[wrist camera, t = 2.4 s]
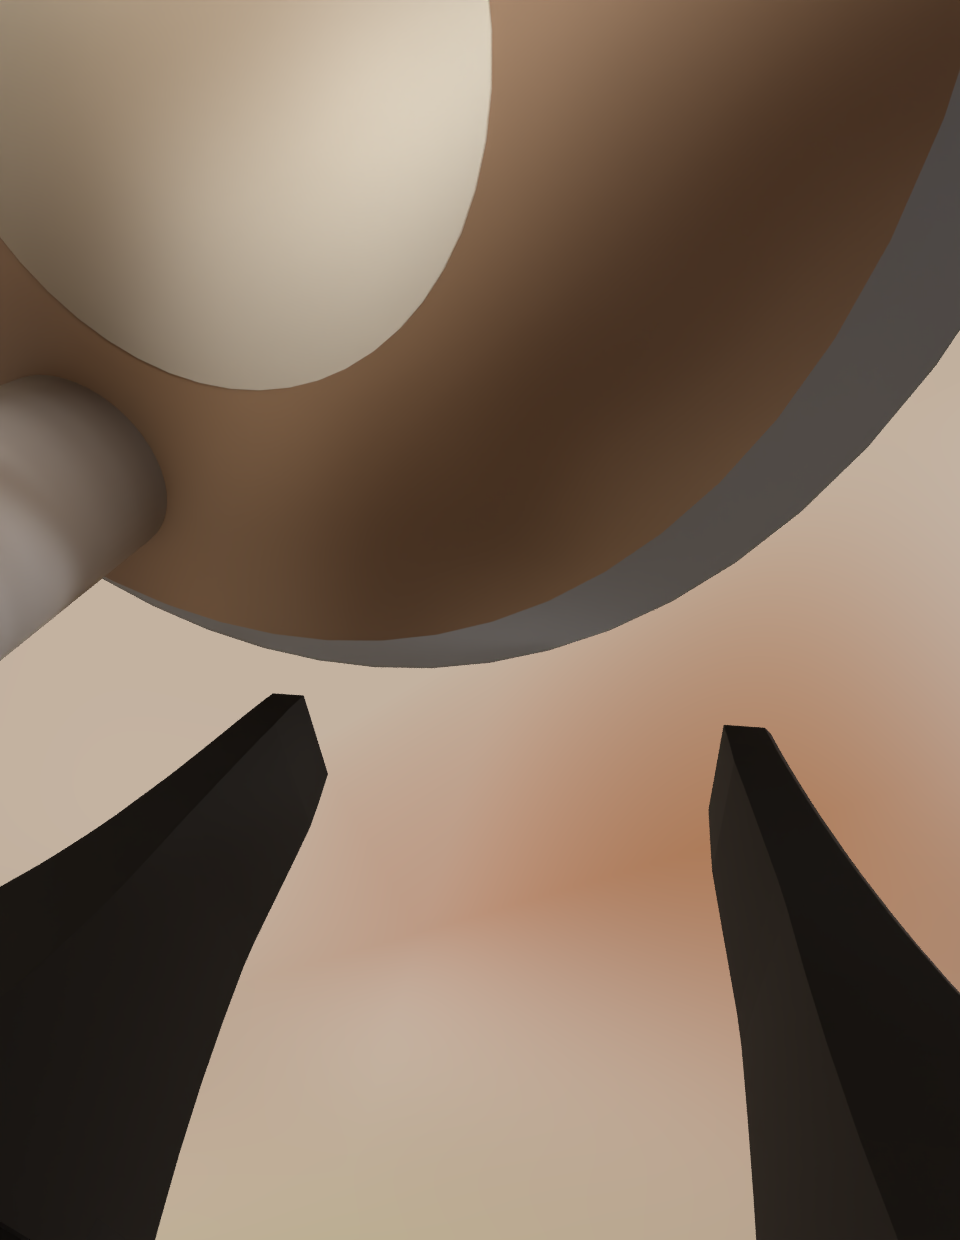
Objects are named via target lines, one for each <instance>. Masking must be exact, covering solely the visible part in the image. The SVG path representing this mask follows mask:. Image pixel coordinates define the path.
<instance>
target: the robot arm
mask: <svg viewBox="0 0 960 1240" xmlns="http://www.w3.org/2000/svg"><path fill="white" fill-rule="evenodd" d="M327 775H328V773H327V770H326V766H325V763H324V760H323V757H322V753H321V750H320V747H319V744H318V741H317V737H316V734H315V731H314V728H313V725H312V721H311V718H310V715H309V711H308V708H307V705H306V702H305V699H304V696H301V695H286V694H272V695H270V696H269V697H268V698H266V699H265V700H264V701H262V702H261V703H260V704H258V705H257V706H256V707H255V708H253V709H252V710H251V711H250V712H248V713H247V714H246V715H244V716H243V717H242V718H241V719H240V720H238V721H237V722H236V723H235V724H233V725H232V726H231V727H230V728H228V729H227V730H226V731H225V732H224V733H222V734H221V735H220V736H219V737H217V738H216V739H215V740H214V741H212V742H211V743H210V744H209V745H207V746H206V747H205V748H204V749H203V750H201V751H200V752H199V753H198V754H196V755H195V756H194V757H193V758H191V759H190V760H189V761H187V762H186V763H185V764H184V765H182V766H181V767H180V768H179V769H177V770H176V771H175V772H173V773H172V774H171V775H170V776H168V777H167V778H166V779H164V780H163V781H161V782H160V783H159V784H157V785H156V786H155V787H154V788H152V789H151V790H149V791H148V792H147V793H145V794H144V795H142V796H141V797H140V798H139V799H137V800H136V801H134V802H133V803H132V804H130V805H129V806H128V807H126V808H125V809H124V810H122V811H121V812H119V813H118V814H117V815H115V816H114V817H113V818H111V819H109V820H108V821H107V822H105V823H104V824H102V825H101V826H99V827H98V828H96V829H95V830H93V831H92V832H90V833H89V834H87V835H86V836H84V837H83V838H81V839H79V840H78V841H76V842H75V843H73V844H72V845H70V846H68V847H67V848H65V849H64V850H62V851H61V852H59V853H57V854H56V855H54V856H53V857H51V858H49V859H48V860H46V861H44V862H43V863H41V864H40V865H38V866H36V867H34V868H33V869H31V870H30V871H27V872H26V873H24V874H22V875H20V876H19V877H17V878H15V879H13V880H11V881H10V882H8V883H6V884H4V885H3V886H1V887H0V1240H155V1238H156V1234H157V1230H158V1227H159V1223H160V1219H161V1216H162V1213H163V1209H164V1205H165V1202H166V1198H167V1195H168V1191H169V1188H170V1184H171V1180H172V1177H173V1174H174V1170H175V1167H176V1163H177V1160H178V1156H179V1153H180V1150H181V1146H182V1143H183V1140H184V1137H185V1134H186V1131H187V1127H188V1124H189V1121H190V1118H191V1115H192V1112H193V1108H194V1105H195V1102H196V1099H197V1096H198V1092H199V1089H200V1086H201V1083H202V1080H203V1077H204V1074H205V1072H206V1068H207V1066H208V1063H209V1060H210V1057H211V1054H212V1051H213V1049H214V1046H215V1043H216V1040H217V1037H218V1034H219V1031H220V1028H221V1026H222V1023H223V1020H224V1017H225V1015H226V1012H227V1009H228V1006H229V1004H230V1001H231V999H232V996H233V993H234V991H235V988H236V985H237V983H238V980H239V977H240V975H241V972H242V969H243V966H244V964H245V962H246V960H247V958H248V955H249V953H250V951H251V948H252V946H253V944H254V942H255V940H256V937H257V935H258V933H259V931H260V929H261V927H262V925H263V923H264V921H265V919H266V917H267V915H268V913H269V911H270V909H271V907H272V905H273V903H274V901H275V899H276V896H277V895H278V892H279V890H280V888H281V886H282V884H283V882H284V880H285V878H286V876H287V874H288V872H289V870H290V868H291V866H292V864H293V862H294V860H295V858H296V855H297V853H298V851H299V849H300V847H301V845H302V842H303V841H304V838H305V836H306V834H307V832H308V830H309V828H310V826H311V823H312V820H313V817H314V814H315V811H316V809H317V806H318V803H319V800H320V797H321V794H322V790H323V787H324V784H325V781H326V778H327ZM709 827H710V844H711V859H712V872H713V878H714V884H715V890H716V896H717V901H718V908H719V913H720V919H721V925H722V931H723V936H724V942H725V948H726V953H727V959H728V965H729V970H730V976H731V982H732V987H733V993H734V998H735V1004H736V1009H737V1015H738V1024H739V1031H740V1038H741V1046H742V1057H743V1068H744V1080H745V1092H746V1104H747V1115H748V1129H749V1141H750V1155H751V1169H752V1182H753V1194H754V1195H753V1196H754V1211H755V1226H756V1240H960V993H959V992H958V991H957V989H956V988H955V987H954V986H953V985H952V984H951V983H950V982H949V981H948V980H947V978H946V977H945V976H944V975H943V974H942V973H941V971H940V970H939V969H938V968H937V967H936V966H935V965H934V963H933V962H932V961H931V960H930V959H929V958H928V957H927V955H926V954H925V953H924V952H923V951H922V950H921V949H920V947H919V946H918V945H917V944H916V943H915V941H914V940H913V939H912V938H911V937H910V935H909V934H908V933H907V932H906V931H905V929H904V928H903V927H902V926H901V924H900V923H899V922H898V921H897V920H896V918H895V917H894V916H893V915H892V913H891V912H890V911H889V910H888V908H887V907H886V906H885V904H884V903H883V902H882V900H881V899H880V898H879V897H878V895H877V894H876V893H875V891H874V890H873V889H872V887H871V886H870V885H869V884H868V882H867V881H866V880H865V878H864V877H863V876H862V875H861V873H860V872H859V870H858V869H857V868H856V866H855V865H854V863H853V862H852V861H851V859H850V858H849V857H848V855H847V854H846V852H845V851H844V849H843V848H842V846H841V845H840V844H839V842H838V841H837V839H836V838H835V836H834V835H833V834H832V832H831V831H830V829H829V828H828V826H827V825H826V824H825V822H824V821H823V819H822V818H821V816H820V815H819V813H818V812H817V810H816V808H815V807H814V805H813V804H812V803H811V801H810V799H809V798H808V796H807V794H806V793H805V791H804V790H803V788H802V787H801V785H800V784H799V782H798V780H797V779H796V777H795V775H794V774H793V772H792V770H791V769H790V767H789V765H788V764H787V762H786V760H785V759H784V757H783V755H782V753H781V751H780V750H779V748H778V746H777V744H776V743H775V741H774V739H773V737H772V735H771V734H770V733H769V732H768V731H767V730H766V729H765V728H759V727H744V726H731V725H724V727H723V732H722V738H721V744H720V749H719V754H718V760H717V766H716V771H715V777H714V782H713V788H712V794H711V799H710V805H709Z"/></svg>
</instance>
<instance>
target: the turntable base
mask: <svg viewBox="0 0 960 1240" xmlns="http://www.w3.org/2000/svg"><path fill="white" fill-rule="evenodd" d="M959 330H960V71H959V74H958V77H957V80H956V83H955V86H954V89H953V92H952V95H951V98H950V101H949V105H948V108H947V111H946V114H945V117H944V120H943V122H942V124H941V126H940V129H939V131H938V133H937V136H936V138H935V140H934V142H933V145H932V147H931V149H930V152H929V154H928V156H927V158H926V161H925V163H924V165H923V168H922V170H921V172H920V174H919V177H918V179H917V181H916V184H915V186H914V188H913V190H912V193H911V195H910V197H909V200H908V202H907V204H906V206H905V209H904V211H903V213H902V216H901V218H900V220H899V222H898V225H897V227H896V229H895V232H894V234H893V236H892V238H891V241H890V242H889V244H888V246H887V248H886V249H885V251H884V253H883V255H882V256H881V258H880V260H879V262H878V263H877V265H876V267H875V269H874V271H873V272H872V274H871V276H870V278H869V279H868V281H867V283H866V285H865V286H864V288H863V290H862V292H861V293H860V295H859V297H858V299H857V301H856V302H855V304H854V306H853V308H852V309H851V311H850V313H849V315H848V316H847V318H846V320H845V322H844V323H843V325H842V327H841V329H840V331H839V332H838V334H837V336H836V338H835V339H834V341H833V342H832V343H831V345H830V346H829V348H828V349H827V350H826V352H825V353H824V355H823V356H822V357H821V359H820V360H819V362H818V363H817V364H816V366H815V367H814V368H813V370H812V371H811V373H810V374H809V375H808V377H807V378H806V380H805V381H804V382H803V384H802V385H801V387H800V388H799V389H798V391H797V392H796V394H795V395H794V396H793V398H792V399H791V400H790V402H789V403H788V405H787V406H786V407H785V409H784V410H783V412H782V413H781V414H780V416H779V417H778V419H777V420H776V421H775V422H774V423H773V424H772V425H771V426H770V427H769V429H768V430H767V431H766V432H765V433H764V434H763V435H762V436H761V437H760V439H759V440H758V441H757V442H756V443H755V444H754V445H753V446H752V447H751V448H750V450H749V451H748V452H747V453H746V454H745V455H744V456H743V457H742V458H741V460H740V461H739V462H738V463H737V464H736V465H735V466H734V467H733V468H732V469H731V471H730V472H729V473H728V474H727V475H726V476H725V477H724V478H723V479H722V480H721V482H720V483H719V484H718V485H716V486H715V487H714V488H713V489H712V490H711V491H709V492H708V493H707V494H706V495H705V496H704V497H703V498H701V499H700V500H699V501H698V502H697V503H696V504H695V505H693V506H692V507H691V508H690V509H689V510H688V511H687V512H685V513H684V514H683V515H682V516H681V517H680V518H679V519H677V520H676V521H675V522H674V523H673V524H672V525H671V526H669V527H668V528H667V529H666V530H665V531H664V532H663V533H661V534H660V535H658V536H657V537H656V538H654V539H653V540H651V541H650V542H648V543H647V544H645V545H644V546H642V547H641V548H639V549H638V550H636V551H635V552H633V553H632V554H631V555H629V556H628V557H626V558H625V559H623V560H622V561H620V562H619V563H617V564H616V565H614V566H613V567H611V568H610V569H609V570H607V571H606V572H604V573H602V574H600V575H598V576H596V577H594V578H592V579H590V580H588V581H587V582H585V583H583V584H581V585H579V586H577V587H575V588H573V589H571V590H569V591H567V592H565V593H563V594H561V595H559V596H557V597H555V598H553V599H551V600H550V601H548V602H545V603H542V604H539V605H537V606H534V607H531V608H528V609H526V610H523V611H520V612H518V613H515V614H512V615H509V616H507V617H504V618H501V619H498V620H496V621H493V622H489V623H485V624H481V625H476V626H472V627H468V628H463V629H459V630H455V631H451V632H446V633H442V634H438V635H430V636H420V637H411V638H402V639H393V640H384V641H351V640H321V639H312V638H304V637H295V636H286V635H278V634H272V633H267V632H263V631H258V630H254V629H249V628H245V627H240V626H236V625H231V624H227V623H222V622H219V621H216V620H213V619H210V618H207V617H204V616H201V615H198V614H194V613H191V612H188V611H185V610H182V609H179V608H176V607H173V606H170V605H167V604H165V603H162V602H160V601H158V600H155V599H153V598H151V597H149V596H146V595H144V594H142V593H139V592H137V591H135V590H132V589H130V588H128V587H126V586H123V585H121V584H119V583H116V582H114V581H112V580H110V579H108V578H106V577H103V578H102V579H104V580H106V581H108V582H110V583H112V584H113V585H115V586H117V587H119V588H121V589H123V590H125V591H127V592H128V593H130V594H132V595H134V596H136V597H138V598H139V599H141V600H143V601H145V602H147V603H149V604H151V605H153V606H155V607H157V608H160V609H162V610H164V611H166V612H169V613H171V614H173V615H176V616H178V617H180V618H183V619H185V620H187V621H189V622H192V623H194V624H196V625H199V626H201V627H204V628H206V629H208V630H211V631H214V632H217V633H220V634H223V635H227V636H229V637H232V638H235V639H239V640H241V641H245V642H248V643H251V644H254V645H257V646H260V647H263V648H267V649H272V650H276V651H281V652H285V653H289V654H294V655H299V656H303V657H307V658H312V659H316V660H321V661H330V662H338V663H347V664H354V665H362V666H371V667H402V668H403V667H407V668H437V667H448V666H458V665H469V664H480V663H490V662H495V661H500V660H505V659H509V658H514V657H519V656H524V655H529V654H534V653H538V652H543V651H548V650H551V649H554V648H557V647H560V646H563V645H567V644H570V643H572V642H575V641H578V640H581V639H585V638H588V637H591V636H594V635H597V634H600V633H603V632H606V631H609V630H611V629H613V628H616V627H618V626H620V625H622V624H624V623H626V622H628V621H630V620H633V619H635V618H637V617H639V616H641V615H643V614H646V613H648V612H650V611H652V610H654V609H656V608H659V607H661V606H663V605H665V604H667V603H669V602H671V601H673V600H675V599H677V598H678V597H680V596H681V595H683V594H685V593H686V592H688V591H689V590H691V589H693V588H695V587H696V586H698V585H700V584H701V583H703V582H704V581H706V580H708V579H709V578H711V577H713V576H714V575H716V574H718V573H719V572H721V571H722V570H724V569H726V568H727V567H729V566H731V565H732V564H734V563H735V562H737V561H738V560H739V559H741V558H742V557H743V556H744V555H746V554H747V553H748V552H750V551H751V550H752V549H754V548H755V547H756V546H757V545H759V544H760V543H761V542H762V541H764V540H765V539H766V538H767V537H769V536H770V535H771V534H773V533H774V532H775V531H777V530H778V529H779V528H781V527H782V526H783V525H784V524H786V523H787V522H788V521H790V520H791V519H792V518H793V517H795V516H796V515H797V514H799V513H800V512H801V511H802V510H803V509H804V508H805V507H806V506H807V505H808V504H809V503H810V502H811V501H812V500H813V499H814V498H816V497H817V496H818V495H819V493H821V492H822V491H823V490H824V489H825V488H826V487H827V486H828V485H829V484H830V483H831V482H832V481H833V480H834V479H835V478H836V477H837V476H838V475H839V474H840V473H841V472H842V471H843V470H844V469H845V468H847V467H848V466H849V465H850V464H851V462H853V461H854V460H855V459H856V458H857V457H858V456H859V455H860V454H861V453H862V452H863V451H864V450H865V449H866V448H867V447H868V446H869V445H870V443H871V442H872V441H873V440H874V439H875V437H876V436H877V435H878V434H879V433H880V432H881V430H882V429H883V428H884V427H885V426H886V424H887V423H888V422H889V421H890V420H891V418H892V417H893V416H894V415H895V414H896V412H897V411H898V410H899V409H900V408H901V406H902V405H903V404H904V403H905V402H906V401H907V399H908V398H909V397H910V396H911V394H912V393H913V392H914V391H915V390H916V389H917V387H918V386H919V385H920V384H921V383H922V381H923V380H924V379H925V378H926V376H927V375H928V374H929V373H930V372H931V371H932V369H933V368H934V367H935V366H936V364H937V363H938V361H939V360H940V358H941V357H942V355H943V354H944V352H945V351H946V349H947V348H948V346H949V345H950V344H951V342H952V340H953V339H954V338H955V336H956V335H957V333H958V332H959Z"/></svg>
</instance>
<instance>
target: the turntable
mask: <svg viewBox="0 0 960 1240" xmlns="http://www.w3.org/2000/svg"><path fill="white" fill-rule="evenodd" d="M959 71H960V0H0V660H1V659H3V658H4V657H5V656H6V655H7V654H9V653H10V652H11V651H13V650H14V649H15V648H16V647H18V646H19V645H20V644H21V643H23V642H24V641H25V640H26V639H27V638H29V637H30V636H31V635H32V634H34V633H35V632H36V631H37V630H39V629H40V628H41V627H42V626H44V625H45V624H46V623H47V622H49V621H50V620H51V619H52V618H53V617H55V616H56V615H57V614H59V613H60V612H61V611H62V610H63V609H65V608H66V607H67V606H68V605H70V604H71V603H72V602H73V601H75V600H76V599H77V598H78V597H80V596H81V595H82V594H83V593H85V592H86V591H87V590H88V589H89V588H91V587H92V586H93V585H94V584H96V583H97V582H98V581H99V580H101V579H102V578H103V577H106V578H108V579H110V580H112V581H114V582H116V583H119V584H121V585H123V586H126V587H128V588H130V589H132V590H135V591H137V592H139V593H142V594H144V595H146V596H149V597H151V598H153V599H155V600H158V601H160V602H162V603H165V604H167V605H170V606H173V607H176V608H179V609H182V610H185V611H188V612H191V613H194V614H198V615H201V616H204V617H207V618H210V619H213V620H216V621H219V622H222V623H227V624H231V625H236V626H240V627H245V628H249V629H254V630H258V631H263V632H267V633H272V634H278V635H286V636H295V637H304V638H312V639H321V640H351V641H384V640H393V639H402V638H411V637H420V636H430V635H438V634H442V633H446V632H451V631H455V630H459V629H463V628H468V627H472V626H476V625H481V624H485V623H489V622H493V621H496V620H498V619H501V618H504V617H507V616H509V615H512V614H515V613H518V612H520V611H523V610H526V609H528V608H531V607H534V606H537V605H539V604H542V603H545V602H548V601H550V600H551V599H553V598H555V597H557V596H559V595H561V594H563V593H565V592H567V591H569V590H571V589H573V588H575V587H577V586H579V585H581V584H583V583H585V582H587V581H588V580H590V579H592V578H594V577H596V576H598V575H600V574H602V573H604V572H606V571H607V570H609V569H610V568H611V567H613V566H614V565H616V564H617V563H619V562H620V561H622V560H623V559H625V558H626V557H628V556H629V555H631V554H632V553H633V552H635V551H636V550H638V549H639V548H641V547H642V546H644V545H645V544H647V543H648V542H650V541H651V540H653V539H654V538H656V537H657V536H658V535H660V534H661V533H663V532H664V531H665V530H666V529H667V528H668V527H669V526H671V525H672V524H673V523H674V522H675V521H676V520H677V519H679V518H680V517H681V516H682V515H683V514H684V513H685V512H687V511H688V510H689V509H690V508H691V507H692V506H693V505H695V504H696V503H697V502H698V501H699V500H700V499H701V498H703V497H704V496H705V495H706V494H707V493H708V492H709V491H711V490H712V489H713V488H714V487H715V486H716V485H718V484H719V483H720V482H721V480H722V479H723V478H724V477H725V476H726V475H727V474H728V473H729V472H730V471H731V469H732V468H733V467H734V466H735V465H736V464H737V463H738V462H739V461H740V460H741V458H742V457H743V456H744V455H745V454H746V453H747V452H748V451H749V450H750V448H751V447H752V446H753V445H754V444H755V443H756V442H757V441H758V440H759V439H760V437H761V436H762V435H763V434H764V433H765V432H766V431H767V430H768V429H769V427H770V426H771V425H772V424H773V423H774V422H775V421H776V420H777V419H778V417H779V416H780V414H781V413H782V412H783V410H784V409H785V407H786V406H787V405H788V403H789V402H790V400H791V399H792V398H793V396H794V395H795V394H796V392H797V391H798V389H799V388H800V387H801V385H802V384H803V382H804V381H805V380H806V378H807V377H808V375H809V374H810V373H811V371H812V370H813V368H814V367H815V366H816V364H817V363H818V362H819V360H820V359H821V357H822V356H823V355H824V353H825V352H826V350H827V349H828V348H829V346H830V345H831V343H832V342H833V341H834V339H835V338H836V336H837V334H838V332H839V331H840V329H841V327H842V325H843V323H844V322H845V320H846V318H847V316H848V315H849V313H850V311H851V309H852V308H853V306H854V304H855V302H856V301H857V299H858V297H859V295H860V293H861V292H862V290H863V288H864V286H865V285H866V283H867V281H868V279H869V278H870V276H871V274H872V272H873V271H874V269H875V267H876V265H877V263H878V262H879V260H880V258H881V256H882V255H883V253H884V251H885V249H886V248H887V246H888V244H889V242H890V241H891V238H892V236H893V234H894V232H895V229H896V227H897V225H898V222H899V220H900V218H901V216H902V213H903V211H904V209H905V206H906V204H907V202H908V200H909V197H910V195H911V193H912V190H913V188H914V186H915V184H916V181H917V179H918V177H919V174H920V172H921V170H922V168H923V165H924V163H925V161H926V158H927V156H928V154H929V152H930V149H931V147H932V145H933V142H934V140H935V138H936V136H937V133H938V131H939V129H940V126H941V124H942V122H943V120H944V117H945V114H946V111H947V108H948V105H949V101H950V98H951V95H952V92H953V89H954V86H955V83H956V80H957V77H958V74H959Z"/></svg>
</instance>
